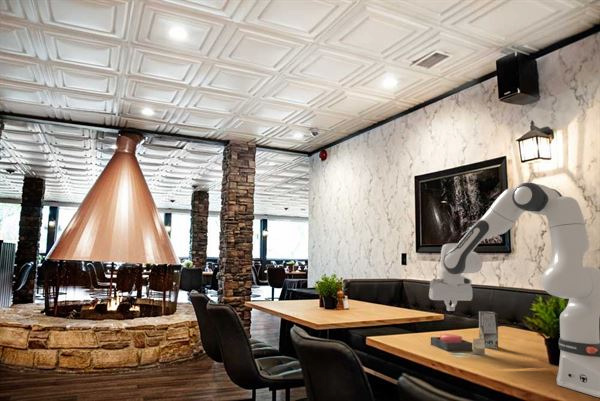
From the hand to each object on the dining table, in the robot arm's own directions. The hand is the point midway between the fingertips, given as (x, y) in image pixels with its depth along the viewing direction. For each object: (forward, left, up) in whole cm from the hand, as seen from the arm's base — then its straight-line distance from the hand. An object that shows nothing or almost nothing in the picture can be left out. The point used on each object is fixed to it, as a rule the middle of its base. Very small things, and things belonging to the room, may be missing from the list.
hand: (450, 310), depth 185 cm
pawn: (-13, -5, -16) cm, 21 cm away
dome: (0, 0, -15) cm, 15 cm away
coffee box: (+2, -21, -17) cm, 27 cm away
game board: (-6, 0, -17) cm, 18 cm away
